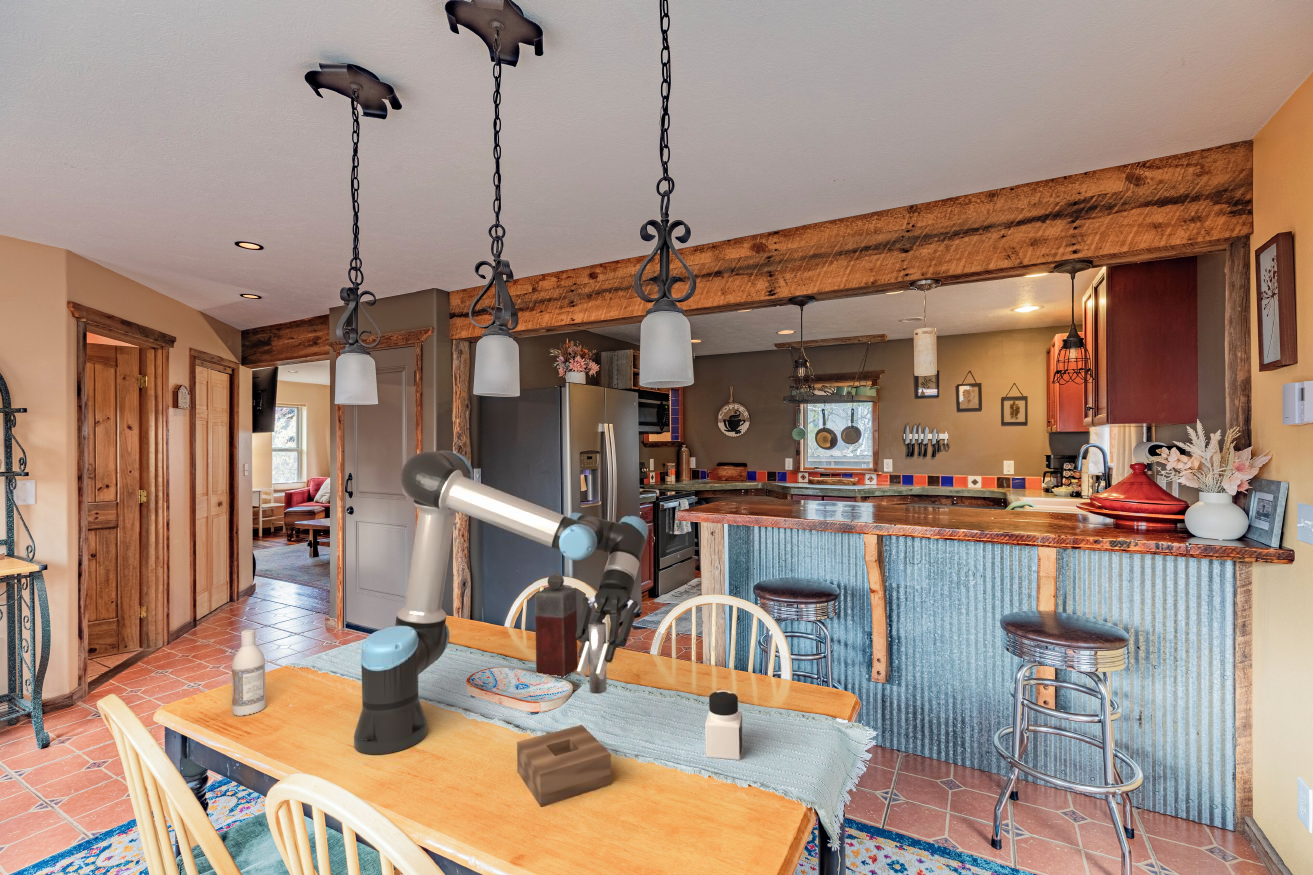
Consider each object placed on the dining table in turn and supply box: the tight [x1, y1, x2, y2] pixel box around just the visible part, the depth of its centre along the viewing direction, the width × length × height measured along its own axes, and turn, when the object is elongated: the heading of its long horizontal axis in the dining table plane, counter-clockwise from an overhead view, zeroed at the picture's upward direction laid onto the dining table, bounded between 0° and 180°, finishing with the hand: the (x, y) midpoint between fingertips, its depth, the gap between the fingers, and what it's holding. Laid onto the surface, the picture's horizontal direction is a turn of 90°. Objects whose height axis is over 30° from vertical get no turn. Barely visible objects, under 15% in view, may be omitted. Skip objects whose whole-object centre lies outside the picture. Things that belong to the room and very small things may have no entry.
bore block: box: [516, 724, 612, 808], centre depth 121 cm, size 14×14×6 cm
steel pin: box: [588, 621, 608, 695], centre depth 131 cm, size 4×4×14 cm
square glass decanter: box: [534, 572, 579, 677], centre depth 178 cm, size 9×11×28 cm
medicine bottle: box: [704, 690, 743, 761], centre depth 130 cm, size 7×7×12 cm
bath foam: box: [231, 628, 267, 717], centre depth 155 cm, size 7×7×20 cm
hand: (590, 674), depth 127 cm, fingers closed on steel pin, 3 cm apart
